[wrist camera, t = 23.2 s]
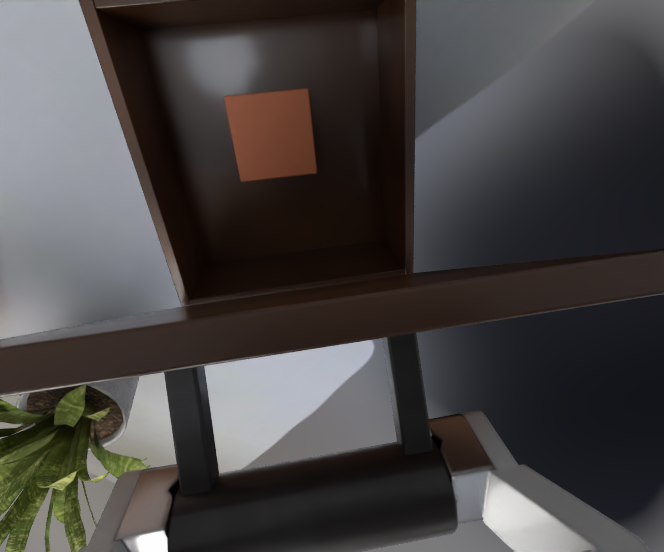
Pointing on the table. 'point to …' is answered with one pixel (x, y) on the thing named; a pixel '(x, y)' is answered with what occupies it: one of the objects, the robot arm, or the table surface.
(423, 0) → the table surface
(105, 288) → the table surface
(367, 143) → the chest
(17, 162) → the table surface
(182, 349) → the lid
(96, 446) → the house plant
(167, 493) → the robot arm
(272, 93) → the block
